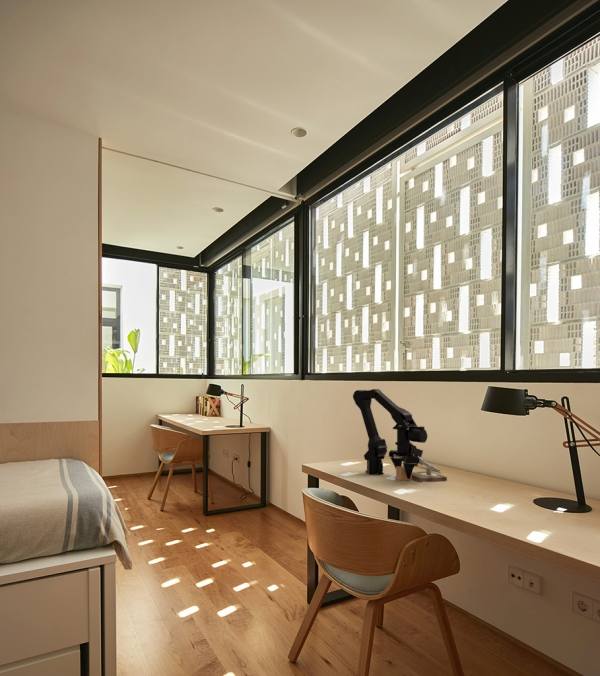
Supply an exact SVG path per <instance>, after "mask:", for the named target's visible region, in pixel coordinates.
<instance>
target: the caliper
mask: <svg viewBox="0 0 600 676" xmlns="http://www.w3.org/2000/svg"><path fill="white" fill-rule="evenodd" d="M418 457H419V456H418ZM419 458H420V463H418V465H421V466H422V465H423V466H425V467H426V465H431V471H432V470H433V472H434V471H435V472H436V471H437V472H436V473H440V472H442V471H441V469H440V468H438V467H436V466H434V465H432V464H431V463H428V462H427V461H425V460H424V459H423V458H422V457H419Z"/></svg>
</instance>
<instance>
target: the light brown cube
mask: <svg viewBox="0 0 600 676" xmlns="http://www.w3.org/2000/svg"><path fill="white" fill-rule="evenodd" d="M397 478H398V479H397ZM395 479H397V480H399V479H400V480H399V481H401V480H402V481H412V480H413V479H412V474H411V477H410V479H407V476H406V473H405V469H404V466H403V465H402V466H396V469H395Z"/></svg>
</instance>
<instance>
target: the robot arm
mask: <svg viewBox="0 0 600 676" xmlns="http://www.w3.org/2000/svg"><path fill="white" fill-rule="evenodd" d="M352 398H353V401H354V404H355V405H356V406H357V407H358V408H359V410H360V413H361V415H362V419H363V423H364V428H365V430H366V434H367V438H368V442H367V449H368V450H367V451H366V452H365V453H364V454H363V458H364V460H366V470H365V473H367V474H369V475H384V462H383V460H384V459H385V457H386V455H387V452H388V457H390V458H389V459H390V460H391V463H392V464H393V466H394V469H395V470H396V466H404V469H405V473H406V476H407V479H410V477H411V474H412V472H414V468H415V467H417V466H416V465H418V466H419V463H420V458H422V457H423V453H424V450H422V449H420V448H417V446H416V445H415V444H413V443H414V442H415V443H421V444H423V443H424V444H425V443H426V442H427V440H428V433H427V430H426V429H425V426H421V425H420V426H418V425H417V423H416V421H415V419H414V418H413V414H412V413H411V412H410V411H409V410H406V409H405V408H402V407H401V406H399V405H397V404H396V403H395V402H394V401H392V399H390V398H389V397H388V396H387V395H386V394H385V393H383V391H382V390H381V389H380V388H372V389H369V390H367V389H358V390H355V391H354V392H353V394H352ZM373 399H374V400H375V401H376V402H377V403H378V404H379V405H380V406H381V407H383V409H385V411H387V412H388V413H389V414H390V416H391V419H392V421H394V423H395V426H393V427H392V430H396V441H395V443H394V444H395V446H396V449H392V450H389V451H388V446H387V443H386V439H385V438H381V436H380V435H379V431H378V428H377V424H376V421H375V418H374V415H373V410H372V407H371V405H372V400H373ZM412 442H413V443H412ZM419 457H420V458H419Z"/></svg>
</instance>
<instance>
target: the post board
mask: <svg viewBox="0 0 600 676" xmlns="http://www.w3.org/2000/svg"><path fill="white" fill-rule="evenodd" d="M431 465H432V464H431ZM431 465H426V466H425V467H426V470H425V471H412V478H413V479H412V480H414V479H415V480H414V481H416V480H417V482H418V481H419V482H418V483H423V481H430V482H443V481H442V480H447V481H448V477H447V476H445V475H442V474H441V473H440V474H439V473H438V472H436V471H435V472H434V471H432V469H431Z"/></svg>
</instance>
